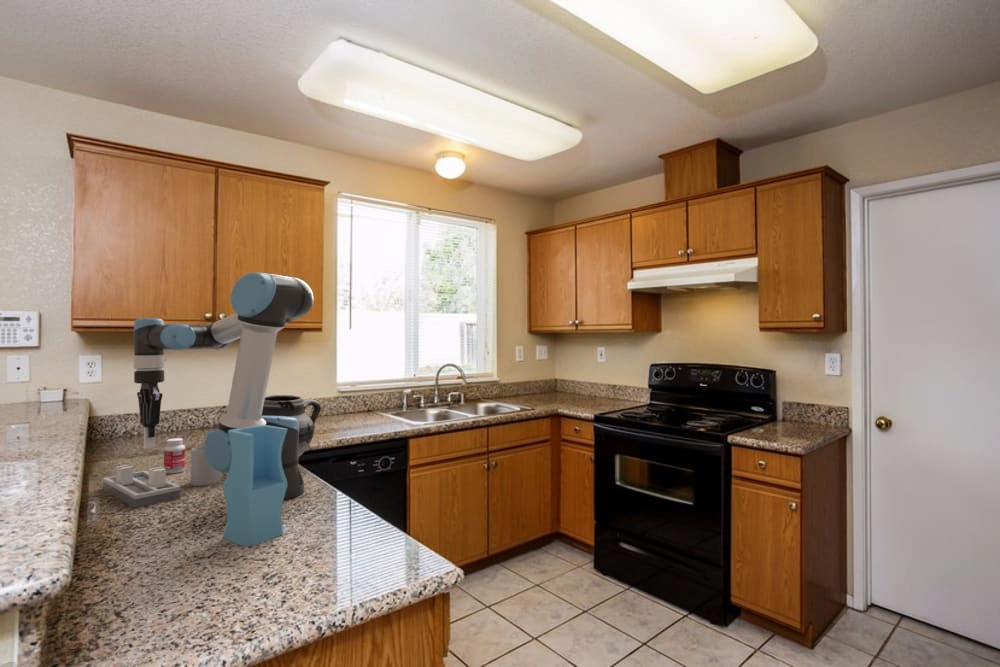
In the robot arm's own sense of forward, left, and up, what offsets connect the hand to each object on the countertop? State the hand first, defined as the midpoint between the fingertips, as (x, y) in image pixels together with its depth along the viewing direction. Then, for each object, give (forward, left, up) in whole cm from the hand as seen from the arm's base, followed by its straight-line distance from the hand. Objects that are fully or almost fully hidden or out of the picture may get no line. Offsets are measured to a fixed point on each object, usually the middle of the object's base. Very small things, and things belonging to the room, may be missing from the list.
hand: (149, 447), depth 153 cm
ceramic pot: (-2, -40, -13) cm, 42 cm away
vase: (-58, -2, -13) cm, 60 cm away
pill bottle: (+18, -13, -13) cm, 26 cm away
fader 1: (+4, +5, -10) cm, 12 cm away
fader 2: (-7, 0, -10) cm, 12 cm away
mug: (-2, -15, -13) cm, 20 cm away
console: (-1, +3, -13) cm, 13 cm away
